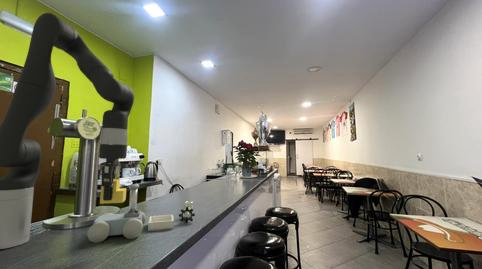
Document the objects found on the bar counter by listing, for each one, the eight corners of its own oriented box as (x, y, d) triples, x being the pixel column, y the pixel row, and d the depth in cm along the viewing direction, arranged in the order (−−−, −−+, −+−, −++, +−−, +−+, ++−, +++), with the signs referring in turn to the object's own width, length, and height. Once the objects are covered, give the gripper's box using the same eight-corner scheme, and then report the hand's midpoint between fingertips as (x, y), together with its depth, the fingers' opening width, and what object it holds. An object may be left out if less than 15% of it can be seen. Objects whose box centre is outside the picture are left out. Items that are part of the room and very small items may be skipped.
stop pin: (126, 217, 77) (128, 185, 78) (128, 214, 80) (129, 184, 81) (137, 216, 78) (138, 185, 79) (138, 213, 81) (139, 184, 82)
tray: (148, 231, 80) (148, 222, 80) (149, 223, 88) (150, 216, 88) (173, 228, 83) (173, 220, 83) (172, 221, 91) (173, 214, 91)
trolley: (86, 243, 68) (88, 220, 69) (98, 230, 80) (99, 210, 81) (141, 237, 73) (142, 215, 74) (145, 225, 86) (146, 207, 86)
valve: (181, 215, 101) (178, 223, 89) (181, 201, 101) (178, 207, 89) (195, 215, 102) (194, 223, 90) (196, 200, 102) (195, 206, 90)
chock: (99, 203, 64) (101, 181, 64) (104, 200, 68) (106, 179, 69) (122, 202, 66) (124, 180, 66) (125, 199, 70) (126, 179, 71)
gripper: (106, 144, 74) (102, 194, 72) (92, 142, 60) (87, 204, 59) (130, 144, 76) (127, 193, 75) (122, 142, 63) (118, 202, 61)
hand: (109, 198), depth 67 cm, fingers closed on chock, 5 cm apart
